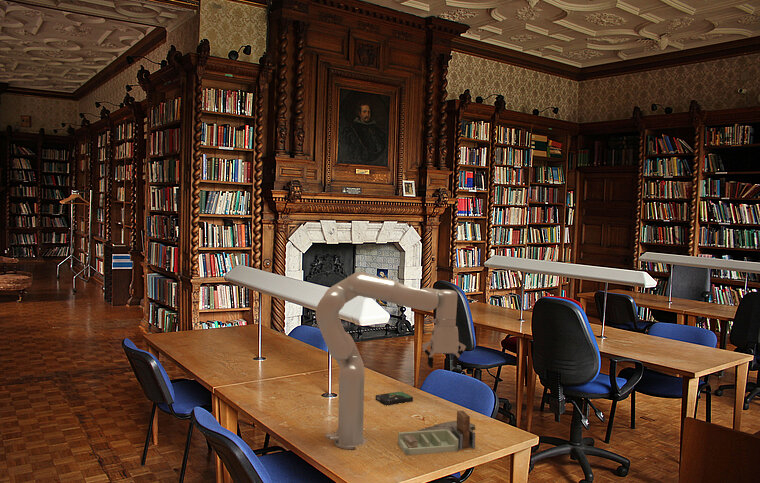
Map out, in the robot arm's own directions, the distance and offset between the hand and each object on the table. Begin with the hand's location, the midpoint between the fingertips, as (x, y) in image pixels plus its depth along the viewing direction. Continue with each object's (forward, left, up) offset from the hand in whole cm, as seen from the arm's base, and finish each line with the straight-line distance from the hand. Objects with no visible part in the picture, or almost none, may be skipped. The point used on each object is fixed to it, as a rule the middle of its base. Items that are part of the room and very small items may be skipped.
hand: (442, 367), depth 228 cm
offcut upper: (-13, -5, -27) cm, 30 cm away
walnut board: (+7, -5, -29) cm, 30 cm away
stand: (+7, -5, -30) cm, 31 cm away
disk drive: (-4, +54, -31) cm, 62 cm away
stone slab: (+5, +12, -31) cm, 33 cm away
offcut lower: (-13, -5, -29) cm, 32 cm away
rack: (-7, -5, -30) cm, 31 cm away
